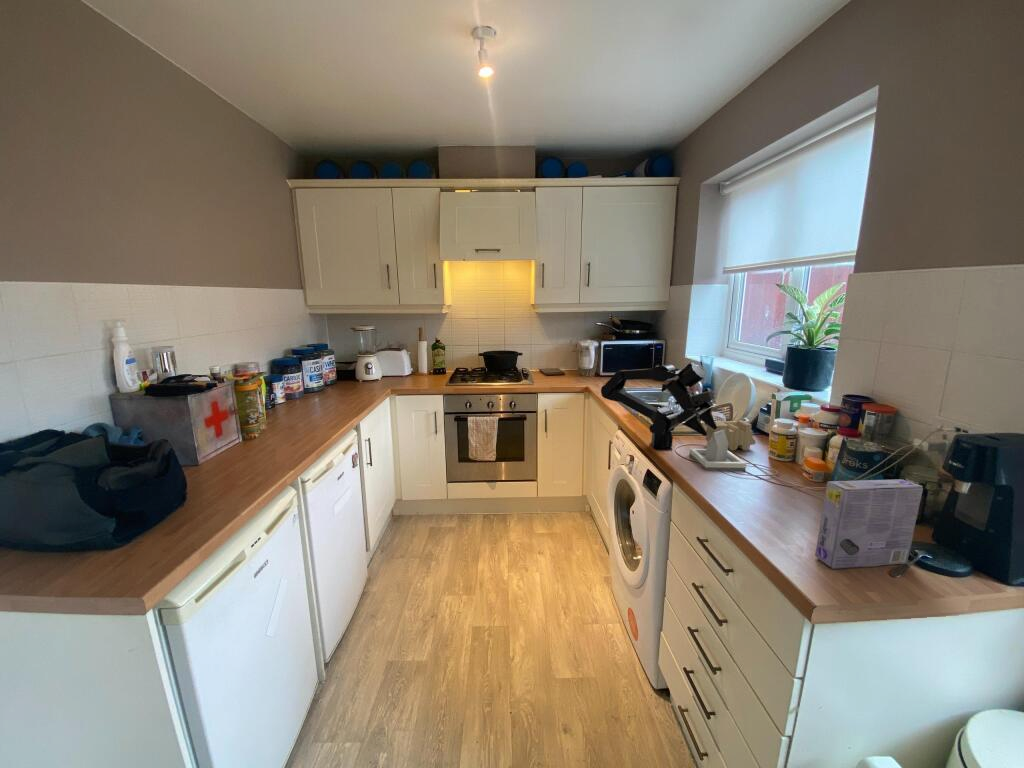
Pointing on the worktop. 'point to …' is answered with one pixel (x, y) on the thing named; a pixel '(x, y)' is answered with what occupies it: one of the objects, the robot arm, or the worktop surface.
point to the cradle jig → (728, 464)
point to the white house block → (717, 447)
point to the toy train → (734, 434)
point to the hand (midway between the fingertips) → (711, 432)
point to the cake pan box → (867, 522)
